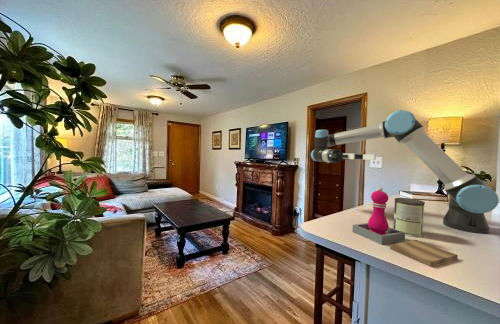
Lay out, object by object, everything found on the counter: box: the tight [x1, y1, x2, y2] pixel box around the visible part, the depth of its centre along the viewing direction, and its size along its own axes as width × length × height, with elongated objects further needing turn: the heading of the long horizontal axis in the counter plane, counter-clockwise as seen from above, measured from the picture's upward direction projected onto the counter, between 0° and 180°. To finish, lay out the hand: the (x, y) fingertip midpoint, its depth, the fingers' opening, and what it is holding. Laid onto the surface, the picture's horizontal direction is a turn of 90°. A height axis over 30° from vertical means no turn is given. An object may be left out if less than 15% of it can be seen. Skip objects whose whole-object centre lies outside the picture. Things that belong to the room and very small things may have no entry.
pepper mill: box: [367, 186, 390, 235], centre depth 83 cm, size 7×7×20 cm
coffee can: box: [392, 197, 426, 238], centre depth 88 cm, size 10×10×14 cm
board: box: [389, 239, 459, 268], centre depth 69 cm, size 14×12×2 cm
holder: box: [351, 222, 406, 245], centre depth 83 cm, size 13×13×3 cm
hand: (364, 156), depth 97 cm, fingers open, 13 cm apart
